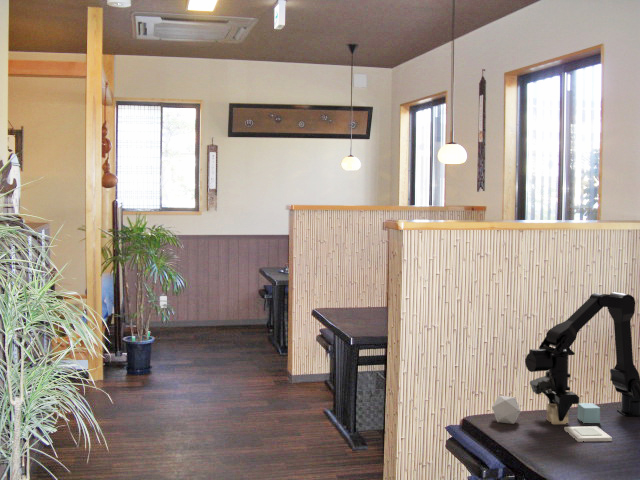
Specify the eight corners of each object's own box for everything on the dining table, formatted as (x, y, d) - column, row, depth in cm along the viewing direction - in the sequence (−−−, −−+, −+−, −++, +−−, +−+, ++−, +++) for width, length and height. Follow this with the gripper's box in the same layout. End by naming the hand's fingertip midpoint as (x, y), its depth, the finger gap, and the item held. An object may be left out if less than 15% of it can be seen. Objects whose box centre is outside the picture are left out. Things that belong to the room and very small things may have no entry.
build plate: (564, 430, 212) (564, 426, 212) (596, 429, 213) (596, 425, 213) (578, 441, 202) (578, 437, 202) (611, 440, 203) (612, 436, 203)
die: (523, 421, 222) (508, 393, 227) (528, 415, 215) (512, 387, 219) (499, 431, 222) (485, 403, 226) (503, 426, 214) (489, 397, 218)
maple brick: (546, 419, 223) (546, 403, 222) (562, 418, 223) (562, 403, 223) (552, 424, 218) (552, 408, 217) (568, 424, 218) (568, 408, 218)
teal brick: (577, 418, 223) (577, 403, 223) (592, 418, 223) (593, 403, 223) (584, 424, 218) (584, 408, 218) (599, 423, 218) (600, 407, 218)
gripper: (522, 362, 228) (522, 409, 229) (544, 377, 210) (543, 428, 211) (556, 362, 229) (555, 409, 230) (580, 376, 210) (579, 427, 211)
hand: (557, 418), depth 220 cm, fingers closed on maple brick, 5 cm apart
